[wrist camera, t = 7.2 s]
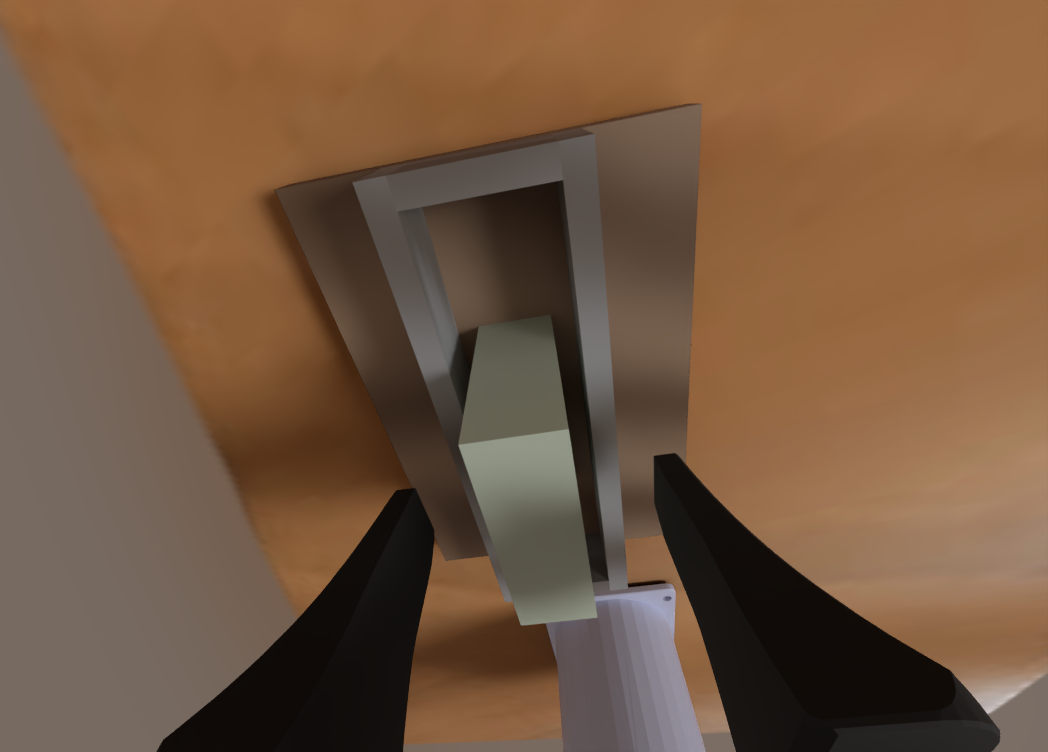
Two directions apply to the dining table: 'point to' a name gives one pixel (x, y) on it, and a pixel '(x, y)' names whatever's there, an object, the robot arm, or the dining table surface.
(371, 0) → the dining table surface
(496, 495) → the panel
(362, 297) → the grey metal tray
